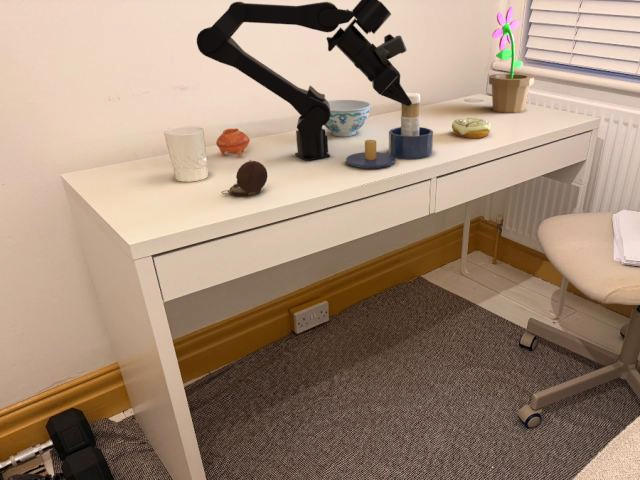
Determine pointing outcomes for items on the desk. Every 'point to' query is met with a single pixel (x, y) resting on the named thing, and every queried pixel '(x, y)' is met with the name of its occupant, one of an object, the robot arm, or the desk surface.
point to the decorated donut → (471, 127)
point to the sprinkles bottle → (410, 116)
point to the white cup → (187, 152)
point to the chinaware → (347, 116)
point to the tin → (411, 144)
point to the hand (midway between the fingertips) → (407, 101)
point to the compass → (249, 179)
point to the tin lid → (370, 157)
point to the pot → (232, 141)
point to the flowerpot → (510, 87)
